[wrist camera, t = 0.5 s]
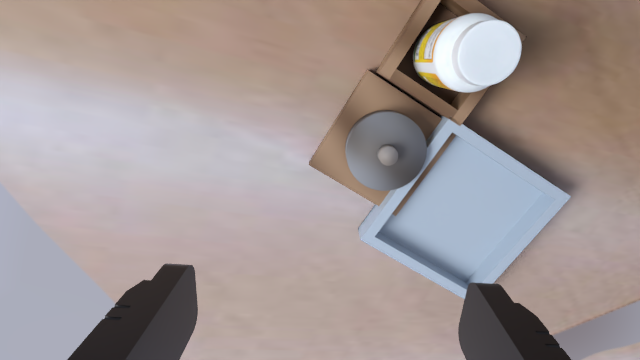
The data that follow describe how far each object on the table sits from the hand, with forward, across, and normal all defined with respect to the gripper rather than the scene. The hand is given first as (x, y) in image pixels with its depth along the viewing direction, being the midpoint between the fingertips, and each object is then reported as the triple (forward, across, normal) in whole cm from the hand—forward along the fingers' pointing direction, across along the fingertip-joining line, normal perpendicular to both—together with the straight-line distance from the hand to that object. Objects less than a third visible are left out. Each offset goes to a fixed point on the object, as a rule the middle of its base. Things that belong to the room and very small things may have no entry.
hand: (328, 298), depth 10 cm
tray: (+25, -13, +7) cm, 29 cm away
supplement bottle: (+25, -10, -7) cm, 28 cm away
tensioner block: (+25, -7, -3) cm, 26 cm away
